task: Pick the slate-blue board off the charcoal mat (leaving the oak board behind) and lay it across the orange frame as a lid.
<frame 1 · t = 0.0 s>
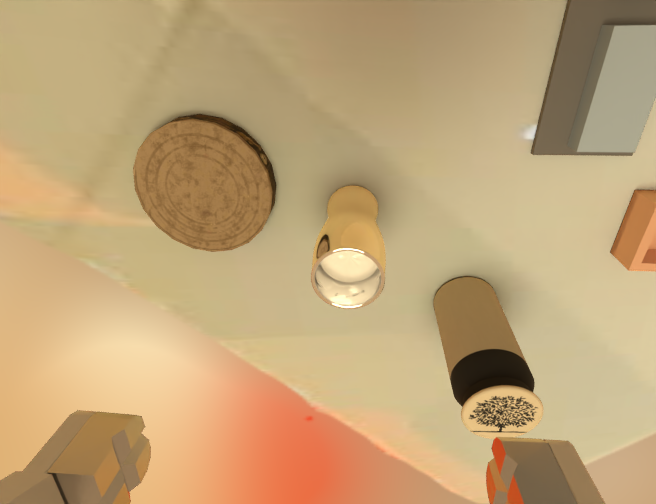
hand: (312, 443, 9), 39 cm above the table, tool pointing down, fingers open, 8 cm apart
travel mug: (463, 299, 54), on the table
mat: (622, 11, 37), on the table
wood slice coaster: (211, 181, 49), on the table
slate board: (613, 89, 39), point 1 cm above the table, touching mat
beer glass: (352, 208, 49), on the table
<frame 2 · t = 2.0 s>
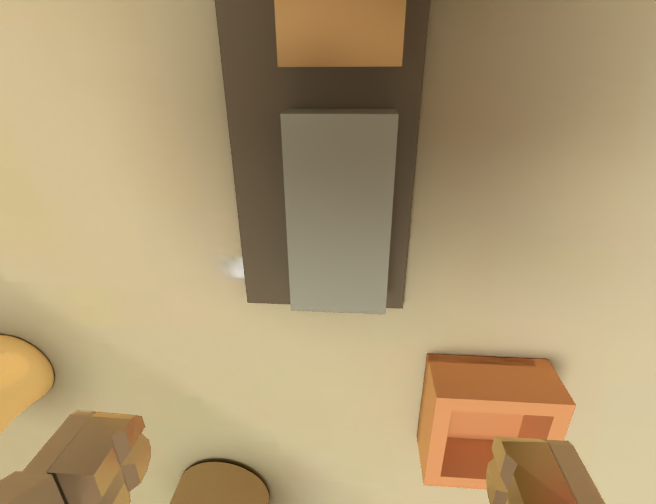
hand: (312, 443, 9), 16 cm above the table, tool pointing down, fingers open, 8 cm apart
travel mug: (226, 486, 36), on the table
mat: (322, 86, 21), on the table
orange frame: (477, 400, 29), on the table
slate board: (340, 210, 23), point 1 cm above the table, touching mat
beer glass: (18, 364, 32), on the table
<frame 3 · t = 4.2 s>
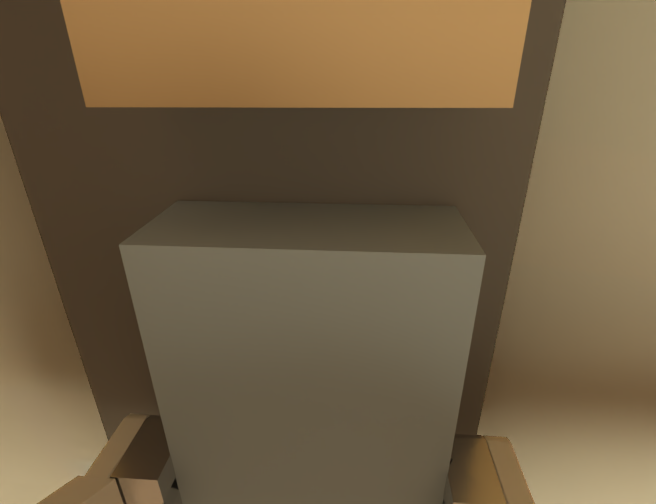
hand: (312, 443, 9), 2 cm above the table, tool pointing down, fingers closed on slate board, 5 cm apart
mat: (266, 145, 8), on the table
slate board: (317, 410, 10), point 1 cm above the table, touching gripper, mat
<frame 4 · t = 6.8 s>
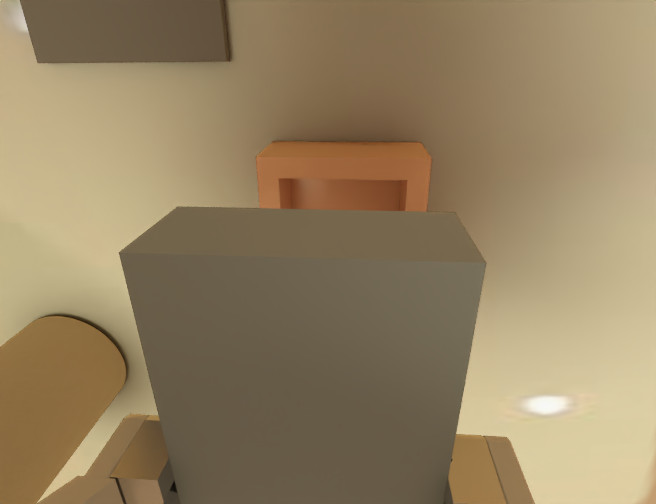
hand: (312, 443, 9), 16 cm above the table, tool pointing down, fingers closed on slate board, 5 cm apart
travel mug: (78, 356, 31), on the table
orange frame: (345, 211, 24), on the table
slate board: (317, 414, 10), point 15 cm above the table, touching gripper
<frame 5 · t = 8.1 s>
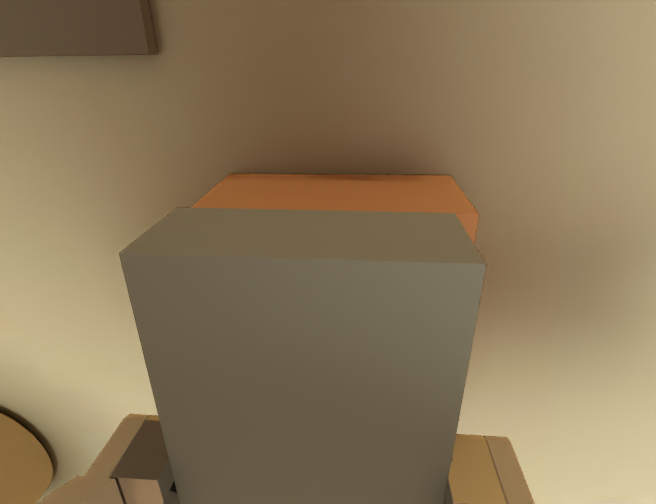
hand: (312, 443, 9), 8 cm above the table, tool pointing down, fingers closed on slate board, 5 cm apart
orange frame: (338, 271, 16), on the table
slate board: (317, 415, 10), point 7 cm above the table, touching gripper
when the fingers open (6 cm above the table, at t = 9.3 s): slate board drops 1 cm, resting on orange frame.
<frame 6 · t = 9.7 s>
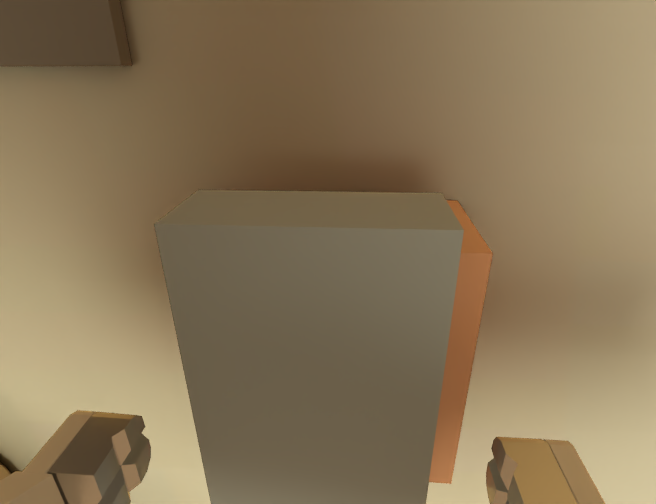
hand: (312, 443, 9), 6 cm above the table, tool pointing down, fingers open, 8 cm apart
orange frame: (333, 302, 15), on the table
slate board: (321, 380, 11), point 4 cm above the table, touching orange frame
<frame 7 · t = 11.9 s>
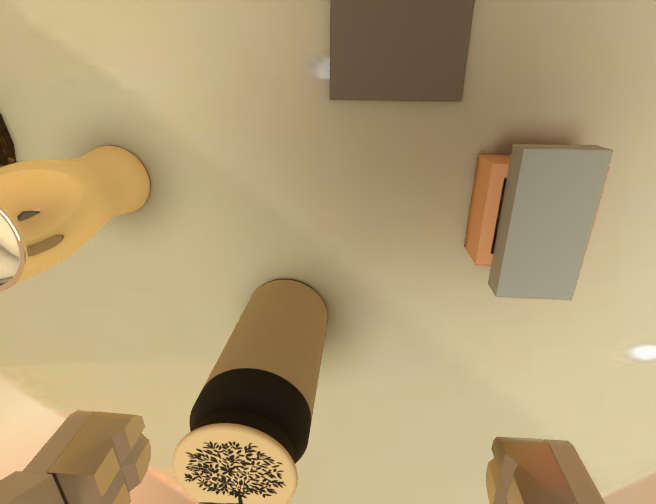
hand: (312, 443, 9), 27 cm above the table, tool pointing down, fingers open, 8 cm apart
travel mug: (288, 312, 41), on the table
orange frame: (519, 203, 34), on the table
slate board: (537, 219, 30), point 4 cm above the table, touching orange frame
beer glass: (119, 179, 37), on the table
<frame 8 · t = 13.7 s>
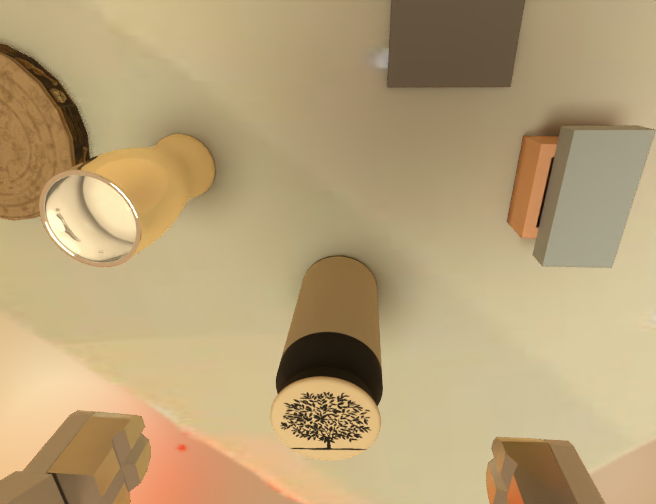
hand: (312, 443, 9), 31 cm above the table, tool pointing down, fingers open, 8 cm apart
travel mug: (339, 287, 44), on the table
orange frame: (560, 181, 37), on the table
wood slice coaster: (12, 132, 40), on the table
slate board: (580, 195, 33), point 4 cm above the table, touching orange frame
beer glass: (185, 165, 39), on the table
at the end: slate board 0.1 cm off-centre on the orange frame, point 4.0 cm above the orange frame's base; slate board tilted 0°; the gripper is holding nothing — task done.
